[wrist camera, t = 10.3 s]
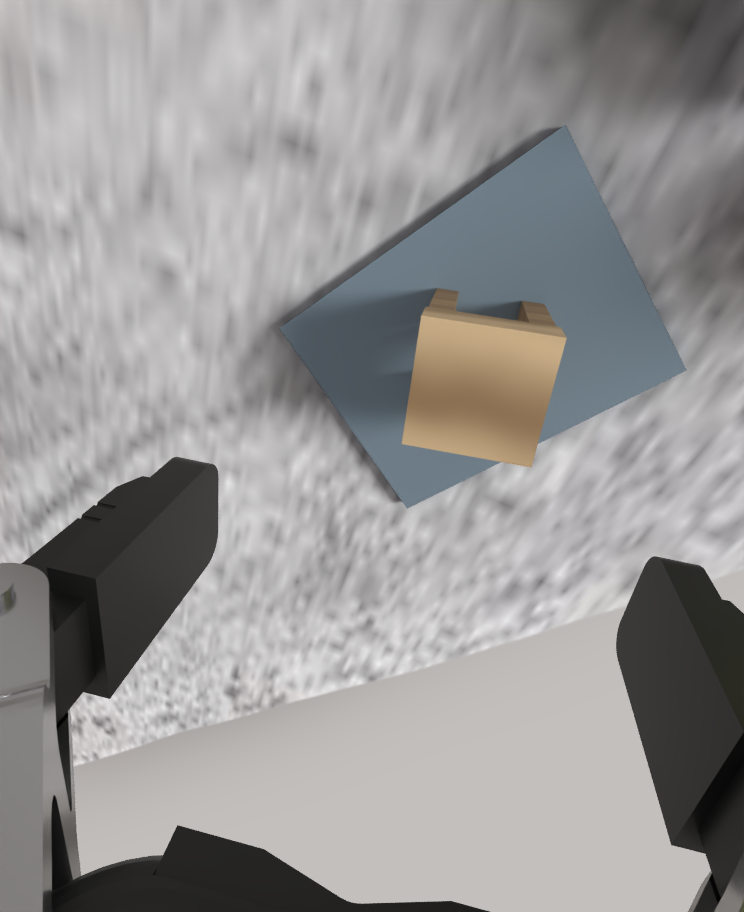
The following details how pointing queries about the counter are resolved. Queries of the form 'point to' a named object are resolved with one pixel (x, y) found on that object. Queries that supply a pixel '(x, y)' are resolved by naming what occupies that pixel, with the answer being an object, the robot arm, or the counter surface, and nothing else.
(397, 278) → the mat
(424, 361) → the wooden stool
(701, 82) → the counter surface
